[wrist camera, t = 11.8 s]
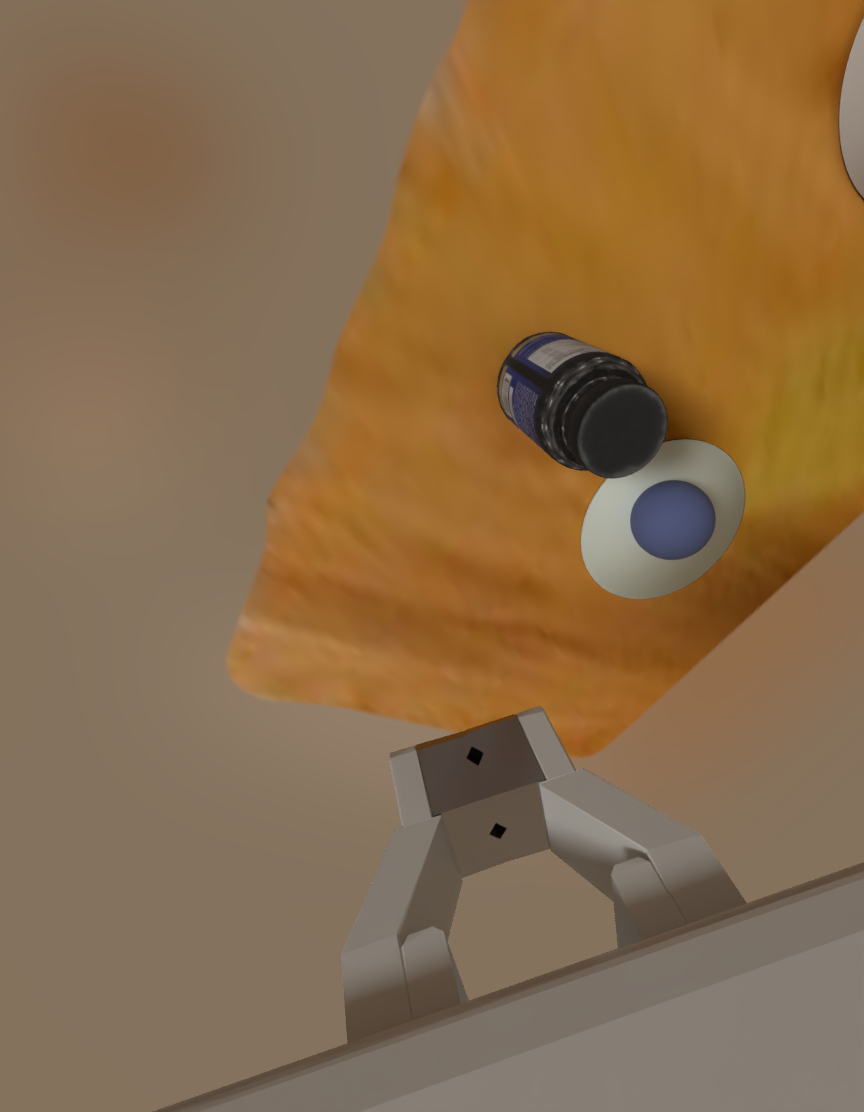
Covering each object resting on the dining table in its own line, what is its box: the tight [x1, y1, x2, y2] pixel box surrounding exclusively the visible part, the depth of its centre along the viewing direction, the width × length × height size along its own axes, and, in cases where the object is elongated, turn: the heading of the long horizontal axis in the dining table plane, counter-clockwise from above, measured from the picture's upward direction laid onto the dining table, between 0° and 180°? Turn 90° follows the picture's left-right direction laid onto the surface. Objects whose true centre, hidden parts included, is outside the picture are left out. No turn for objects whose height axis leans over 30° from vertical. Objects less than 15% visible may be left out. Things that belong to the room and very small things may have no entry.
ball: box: [630, 480, 716, 560], centre depth 43 cm, size 6×6×6 cm
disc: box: [580, 439, 745, 599], centre depth 46 cm, size 13×13×1 cm
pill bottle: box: [497, 332, 668, 479], centre depth 34 cm, size 6×6×11 cm
